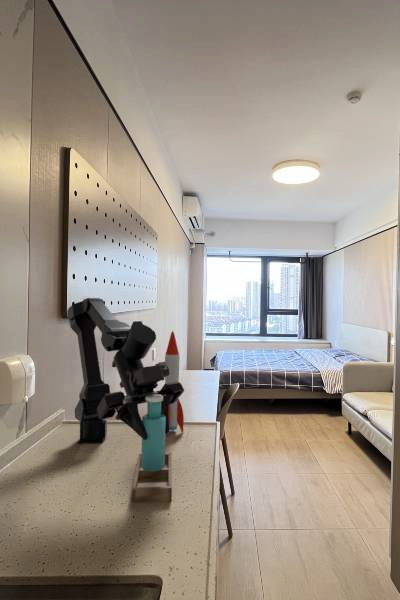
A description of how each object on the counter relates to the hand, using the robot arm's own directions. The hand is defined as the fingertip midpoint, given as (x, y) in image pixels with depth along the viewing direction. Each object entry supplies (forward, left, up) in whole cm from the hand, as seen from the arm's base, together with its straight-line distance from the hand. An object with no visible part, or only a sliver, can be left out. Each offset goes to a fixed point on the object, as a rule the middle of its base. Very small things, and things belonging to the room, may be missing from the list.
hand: (157, 435), depth 69 cm
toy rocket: (+3, +32, -12) cm, 34 cm away
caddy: (-1, +5, -12) cm, 13 cm away
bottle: (-1, +1, -7) cm, 7 cm away
